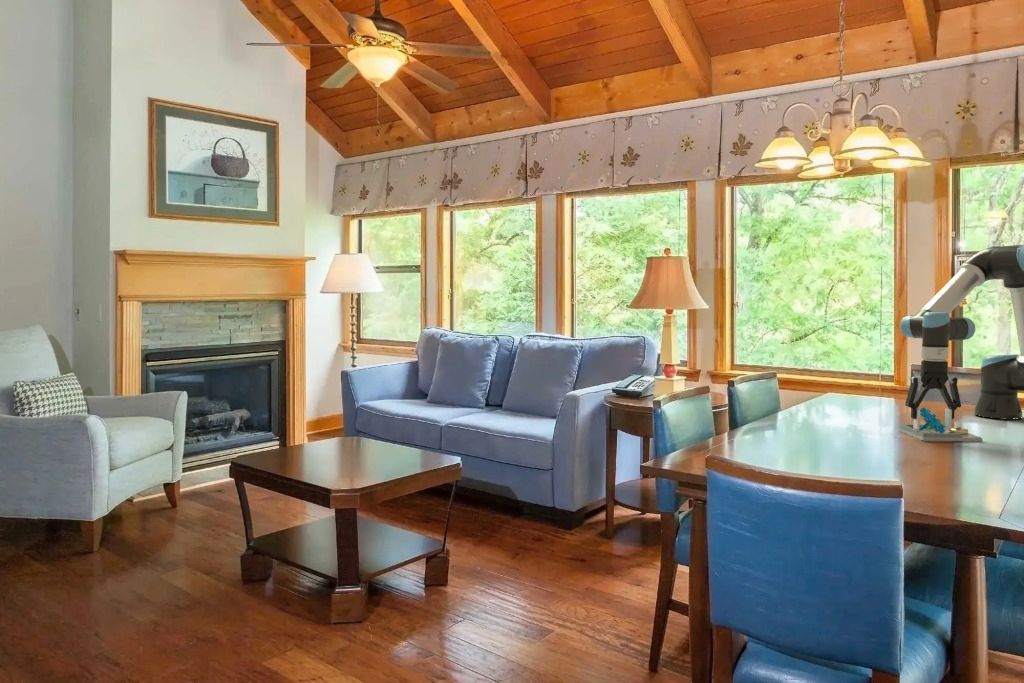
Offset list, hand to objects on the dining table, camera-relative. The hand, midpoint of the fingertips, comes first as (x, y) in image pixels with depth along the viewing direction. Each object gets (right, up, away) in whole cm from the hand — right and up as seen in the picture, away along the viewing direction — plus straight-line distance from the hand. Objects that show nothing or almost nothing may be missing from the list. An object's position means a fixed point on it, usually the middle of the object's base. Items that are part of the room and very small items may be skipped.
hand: (932, 428), depth 246 cm
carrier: (+2, -2, 0) cm, 3 cm away
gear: (0, -1, +1) cm, 1 cm away
